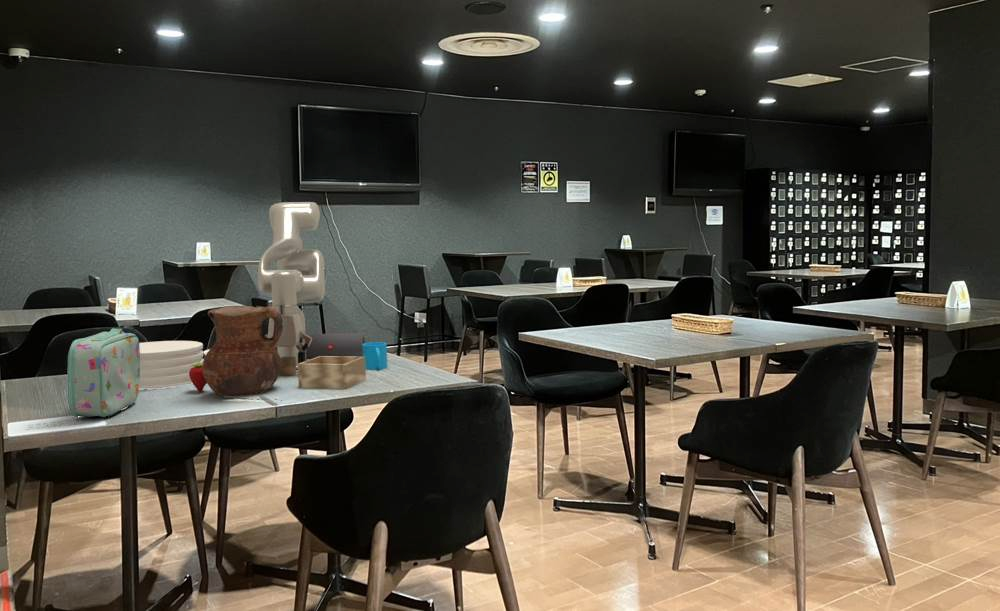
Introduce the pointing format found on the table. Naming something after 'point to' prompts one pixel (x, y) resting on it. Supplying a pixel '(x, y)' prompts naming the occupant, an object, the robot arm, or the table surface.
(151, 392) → the table surface
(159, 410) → the table surface
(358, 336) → the bluetooth speaker
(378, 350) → the mug
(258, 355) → the jug
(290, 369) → the lid
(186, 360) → the plate stack
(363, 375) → the storage box
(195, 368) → the strawberry
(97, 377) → the lunch box
